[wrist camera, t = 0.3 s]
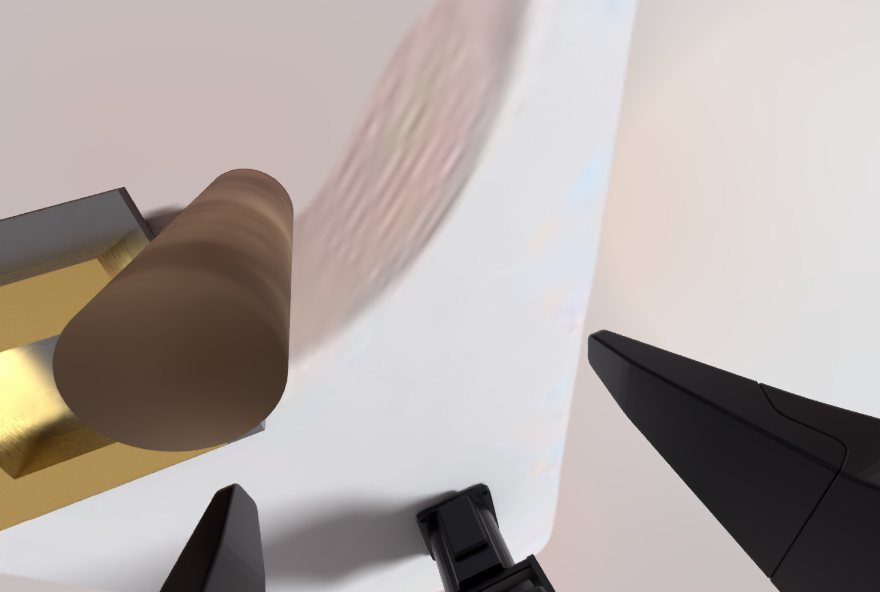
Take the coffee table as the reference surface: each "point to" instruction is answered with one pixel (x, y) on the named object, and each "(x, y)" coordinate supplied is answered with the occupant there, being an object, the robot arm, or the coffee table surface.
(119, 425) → the pin
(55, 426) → the socket
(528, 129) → the coffee table surface
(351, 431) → the coffee table surface
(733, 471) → the robot arm
